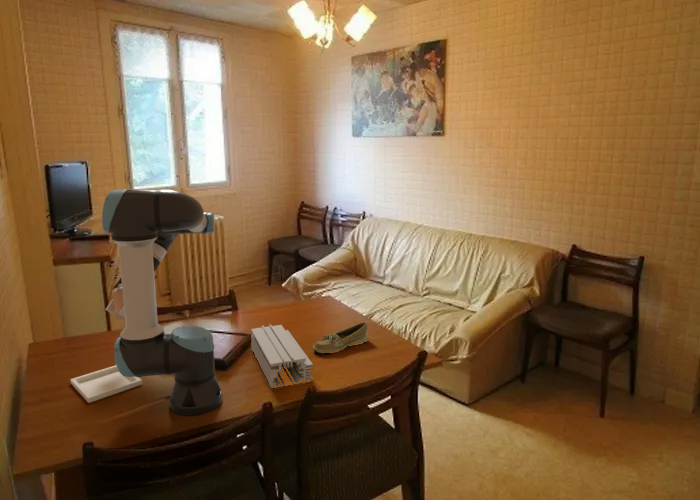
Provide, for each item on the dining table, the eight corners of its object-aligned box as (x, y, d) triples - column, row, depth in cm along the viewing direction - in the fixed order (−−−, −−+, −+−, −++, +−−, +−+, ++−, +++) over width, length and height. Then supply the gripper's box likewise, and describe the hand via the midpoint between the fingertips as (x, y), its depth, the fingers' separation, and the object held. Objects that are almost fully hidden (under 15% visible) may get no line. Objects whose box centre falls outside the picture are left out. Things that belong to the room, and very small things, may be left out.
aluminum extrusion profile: (288, 345, 188) (287, 321, 186) (312, 382, 161) (313, 354, 159) (251, 351, 183) (250, 326, 181) (270, 390, 155) (270, 361, 153)
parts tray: (142, 387, 155) (141, 380, 154) (88, 405, 144) (88, 398, 143) (122, 370, 166) (122, 363, 165) (71, 386, 154) (70, 379, 154)
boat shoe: (307, 351, 184) (307, 332, 182) (354, 334, 200) (354, 317, 199) (324, 359, 177) (324, 340, 175) (370, 341, 193) (371, 323, 192)
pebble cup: (138, 316, 169) (135, 284, 166) (119, 321, 164) (116, 288, 161) (130, 311, 173) (127, 279, 170) (112, 316, 168) (108, 283, 165)
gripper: (176, 266, 173) (141, 324, 163) (140, 258, 182) (105, 312, 172) (163, 255, 167) (126, 314, 157) (126, 247, 176) (89, 303, 166)
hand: (115, 313), depth 165 cm, fingers closed on pebble cup, 6 cm apart
